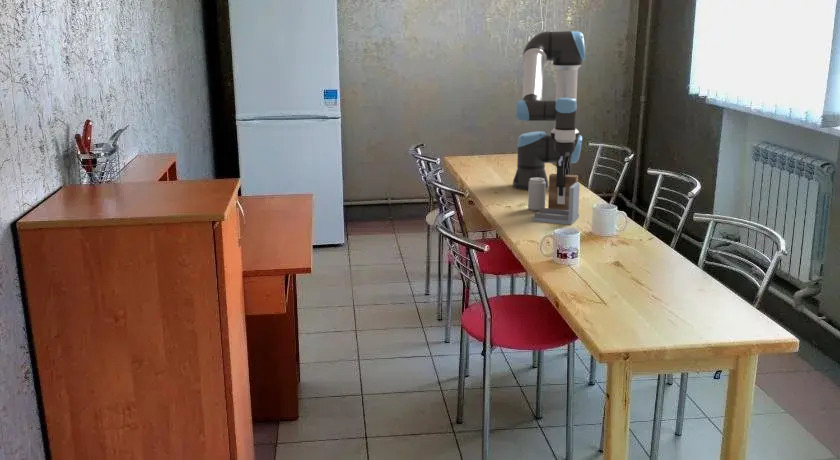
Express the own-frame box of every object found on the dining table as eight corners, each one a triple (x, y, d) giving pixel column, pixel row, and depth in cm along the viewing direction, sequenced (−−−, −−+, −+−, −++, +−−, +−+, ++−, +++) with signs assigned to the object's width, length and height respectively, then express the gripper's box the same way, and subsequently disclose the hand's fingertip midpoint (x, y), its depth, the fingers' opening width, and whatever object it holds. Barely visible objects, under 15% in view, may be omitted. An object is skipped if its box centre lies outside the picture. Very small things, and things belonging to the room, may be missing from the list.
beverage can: (544, 211, 297) (545, 180, 294) (527, 211, 299) (528, 180, 295) (545, 207, 303) (546, 177, 300) (528, 207, 305) (529, 176, 301)
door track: (541, 213, 295) (542, 179, 292) (579, 216, 289) (580, 182, 286) (532, 221, 284) (533, 185, 281) (571, 224, 279) (572, 188, 275)
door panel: (550, 209, 300) (551, 173, 297) (576, 212, 296) (578, 175, 293) (548, 211, 297) (549, 175, 294) (574, 214, 293) (575, 177, 290)
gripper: (560, 136, 299) (558, 196, 305) (548, 143, 284) (546, 206, 290) (580, 137, 296) (577, 198, 302) (569, 144, 281) (567, 208, 287)
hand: (562, 202), depth 296 cm, fingers open, 4 cm apart
